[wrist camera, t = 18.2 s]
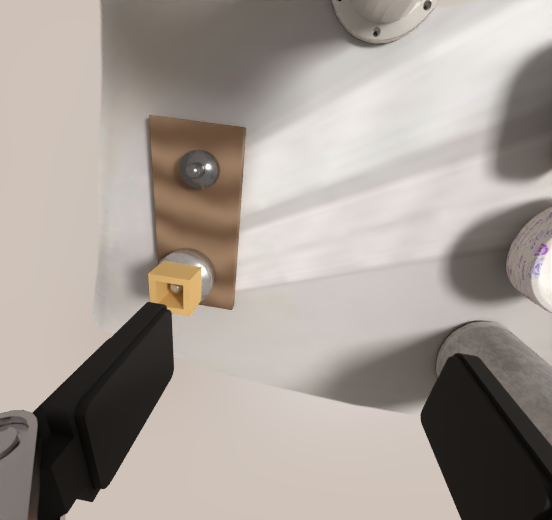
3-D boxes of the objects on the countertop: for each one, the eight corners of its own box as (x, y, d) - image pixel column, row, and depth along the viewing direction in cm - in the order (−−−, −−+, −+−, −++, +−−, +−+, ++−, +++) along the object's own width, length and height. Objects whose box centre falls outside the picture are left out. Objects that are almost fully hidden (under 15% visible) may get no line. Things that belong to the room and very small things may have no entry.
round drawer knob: (185, 147, 37) (171, 147, 33) (220, 152, 37) (210, 153, 33) (186, 184, 39) (172, 188, 35) (219, 189, 39) (209, 193, 35)
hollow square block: (163, 260, 41) (148, 273, 37) (201, 266, 41) (190, 280, 37) (165, 294, 44) (150, 309, 40) (201, 300, 43) (190, 316, 39)
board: (154, 116, 38) (149, 115, 36) (246, 128, 37) (243, 127, 36) (164, 293, 49) (160, 298, 48) (233, 305, 49) (231, 309, 47)
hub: (162, 244, 44) (142, 257, 38) (217, 252, 43) (204, 267, 38) (165, 291, 47) (147, 310, 42) (215, 299, 47) (203, 319, 41)
